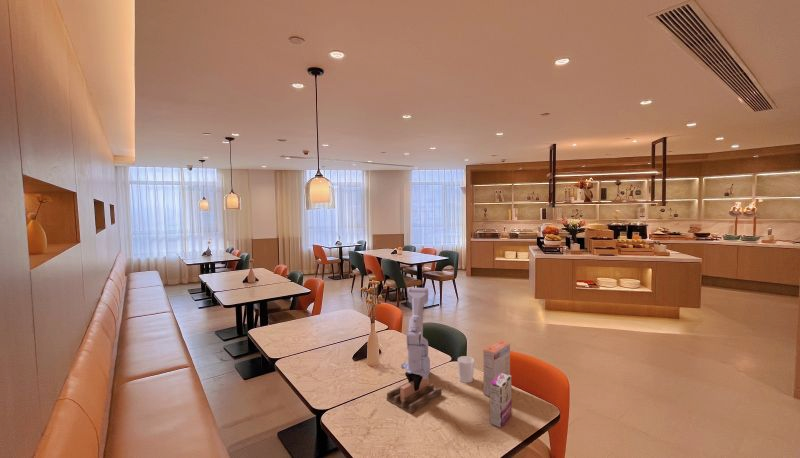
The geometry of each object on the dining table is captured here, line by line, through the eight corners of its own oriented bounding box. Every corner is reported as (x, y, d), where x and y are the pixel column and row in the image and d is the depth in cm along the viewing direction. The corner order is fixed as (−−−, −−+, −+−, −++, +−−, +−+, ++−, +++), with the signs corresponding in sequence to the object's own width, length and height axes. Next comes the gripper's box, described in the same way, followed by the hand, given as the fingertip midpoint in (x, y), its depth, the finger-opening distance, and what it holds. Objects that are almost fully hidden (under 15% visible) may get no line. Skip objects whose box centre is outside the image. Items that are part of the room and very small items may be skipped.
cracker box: (498, 383, 167) (499, 340, 166) (510, 387, 163) (511, 343, 162) (482, 394, 158) (482, 348, 156) (494, 399, 153) (494, 352, 152)
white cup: (461, 374, 176) (462, 354, 176) (476, 378, 172) (476, 358, 171) (454, 380, 170) (454, 360, 169) (469, 385, 165) (470, 364, 165)
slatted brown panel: (417, 383, 167) (417, 376, 167) (441, 394, 157) (441, 387, 157) (387, 400, 153) (386, 393, 153) (410, 413, 143) (410, 406, 143)
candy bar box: (499, 410, 145) (500, 371, 144) (511, 414, 142) (512, 375, 141) (488, 424, 136) (489, 383, 135) (501, 429, 133) (501, 387, 132)
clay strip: (425, 387, 162) (425, 374, 161) (428, 388, 160) (428, 375, 160) (400, 400, 150) (400, 387, 150) (403, 402, 149) (403, 388, 149)
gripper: (396, 356, 156) (396, 386, 157) (420, 367, 146) (420, 398, 147) (407, 351, 161) (407, 380, 162) (431, 361, 151) (431, 392, 152)
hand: (414, 388), depth 155 cm, fingers closed on clay strip, 2 cm apart
